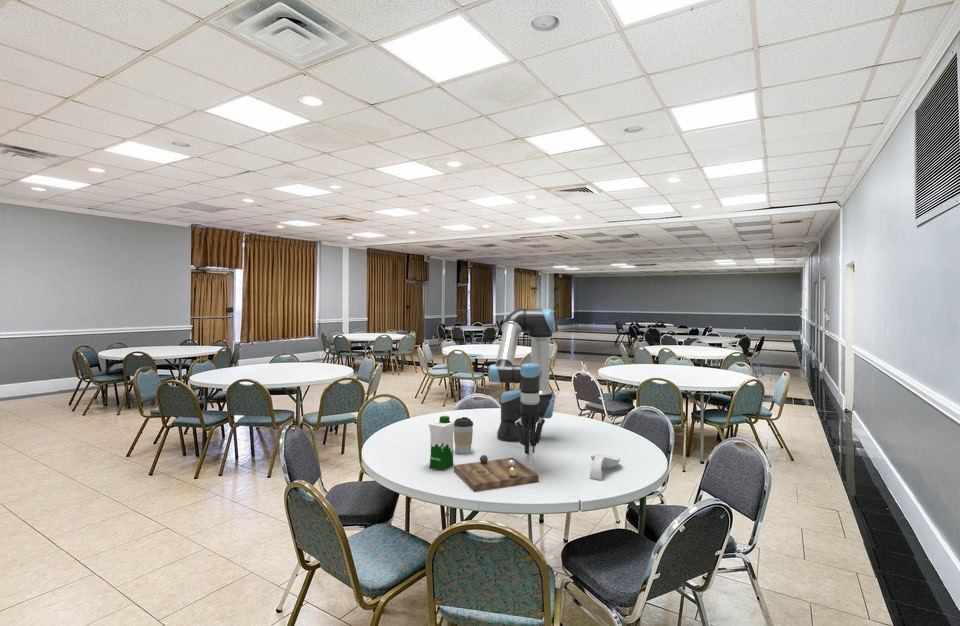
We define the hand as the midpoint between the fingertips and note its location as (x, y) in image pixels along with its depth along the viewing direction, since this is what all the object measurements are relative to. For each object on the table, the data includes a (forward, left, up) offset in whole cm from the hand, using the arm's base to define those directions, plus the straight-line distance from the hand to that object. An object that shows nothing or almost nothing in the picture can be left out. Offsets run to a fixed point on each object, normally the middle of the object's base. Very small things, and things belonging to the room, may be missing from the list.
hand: (529, 461), depth 190 cm
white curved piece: (-28, +9, -4) cm, 30 cm away
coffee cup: (+16, -33, -4) cm, 37 cm away
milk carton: (+31, -18, -4) cm, 36 cm away
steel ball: (+8, 0, 0) cm, 8 cm away
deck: (+15, 0, -4) cm, 15 cm away
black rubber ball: (+16, -9, 0) cm, 18 cm away
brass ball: (+12, +9, 0) cm, 15 cm away
